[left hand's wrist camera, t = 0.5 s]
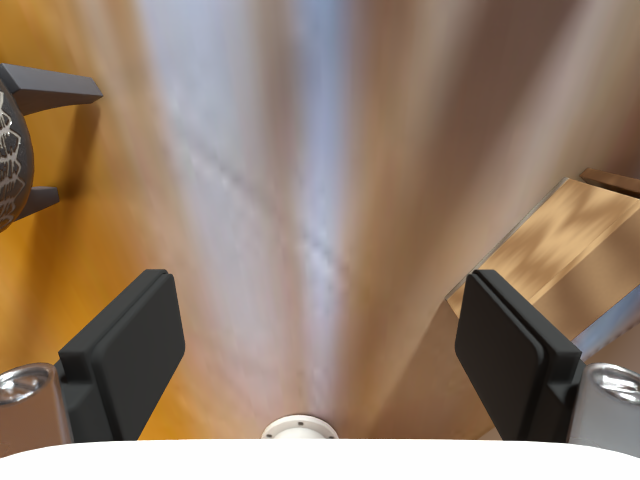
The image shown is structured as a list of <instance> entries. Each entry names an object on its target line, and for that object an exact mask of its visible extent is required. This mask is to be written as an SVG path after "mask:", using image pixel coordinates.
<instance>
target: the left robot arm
mask: <svg viewBox="0 0 640 480" xmlns="http://www.w3.org/2000/svg"><path fill="white" fill-rule="evenodd" d="M184 352H185V340H184V334H183V329H182V323H181V317H180V311H179V305H178V299H177V293H176V288H175V282H174V277H173V275H172V274H168V272H167V271H166V270H164V269H146V270H145V271H143V272H142V273H141V274H140V275H139V276H138V277H137V278H136V279H135V280H134V281H133V282H132V283H131V284H130V285H129V286H128V287H127V288H125V289H124V290H123V291H122V292H121V293H120V294H119V295H118V296H117V297H116V298H115V299H114V300H113V301H112V302H111V303H110V304H109V305H107V306H106V307H105V308H104V309H103V310H102V311H101V312H100V313H99V314H98V315H97V316H96V317H95V318H94V319H93V320H92V321H91V322H89V323H88V324H87V325H86V326H85V327H84V328H83V329H82V330H81V331H80V332H79V333H78V334H77V335H76V336H75V337H74V338H73V339H71V340H70V341H69V342H68V343H67V344H66V345H65V346H64V347H63V348H62V349H61V350H60V351H59V352H58V354H59V357H60V360H59V361H58V362H57V363H56V364H55V365H51V364H49V363H32V364H27V365H23V366H20V367H16V368H14V369H11V370H9V371H7V372H4V373H2V374H0V480H640V375H639V374H638V373H636V372H633V371H631V370H629V369H626V368H624V367H620V366H617V365H613V364H608V363H591V364H589V365H585V364H584V363H583V362H582V361H581V360H580V357H581V354H582V352H581V351H580V350H579V349H578V348H577V347H576V346H575V345H574V344H573V343H572V342H571V341H570V340H569V339H567V338H566V337H565V336H564V335H563V334H562V333H561V332H560V331H559V330H558V329H557V328H556V327H555V326H554V325H553V324H552V323H551V322H549V321H548V320H547V319H546V318H545V317H544V316H543V315H542V314H541V313H540V312H539V311H538V310H537V309H536V308H535V307H534V306H533V305H531V304H530V303H529V302H528V301H527V300H526V299H525V298H524V297H523V296H522V295H521V294H520V293H519V292H518V291H517V290H516V289H515V288H513V287H512V286H511V285H510V284H509V283H508V282H507V281H506V280H505V279H504V278H503V277H502V276H501V275H500V274H499V273H498V272H497V271H495V270H494V269H476V270H474V271H473V272H472V274H468V275H467V277H466V282H465V288H464V293H463V299H462V305H461V311H460V317H459V323H458V328H457V334H456V340H455V352H456V355H457V357H458V359H459V361H460V363H461V364H462V366H463V368H464V370H465V372H466V374H467V375H468V377H469V379H470V381H471V383H472V385H473V387H474V388H475V390H476V392H477V394H478V396H479V398H480V399H481V401H482V403H483V405H484V407H485V409H486V410H487V412H488V414H489V416H490V418H491V420H492V421H493V423H494V425H495V427H496V429H497V430H498V432H499V434H500V436H501V438H502V440H503V441H480V440H402V439H339V437H338V435H337V433H336V432H335V430H334V429H333V428H332V427H331V426H330V425H329V424H328V423H326V422H324V421H322V420H320V419H318V418H315V417H311V416H306V415H293V416H287V417H283V418H281V419H278V420H276V421H275V422H273V423H271V424H270V425H269V426H268V427H267V428H266V429H265V431H264V432H263V434H262V436H261V439H238V440H160V441H137V440H138V438H139V436H140V434H141V432H142V431H143V429H144V427H145V425H146V423H147V421H148V420H149V418H150V416H151V414H152V412H153V410H154V409H155V407H156V405H157V403H158V401H159V399H160V398H161V396H162V394H163V392H164V390H165V388H166V387H167V385H168V383H169V381H170V379H171V377H172V375H173V374H174V372H175V370H176V368H177V366H178V364H179V363H180V361H181V359H182V357H183V355H184Z"/></svg>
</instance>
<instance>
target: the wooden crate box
mask: <svg viewBox="0 0 640 480" xmlns="http://www.w3.org/2000/svg"><path fill="white" fill-rule="evenodd" d="M476 269H494V270H495V271H497V272H498V273H499V274H500V275H501V276H502V277H503V278H504V279H505V280H506V281H507V282H508V283H509V284H510V285H511V286H512V287H513V288H515V289H516V290H517V291H518V292H519V293H520V294H521V295H522V296H523V297H524V298H525V299H526V300H527V301H528V302H529V303H530V304H531V305H533V306H534V307H535V308H536V309H537V310H538V311H539V312H540V313H541V314H542V315H543V316H544V317H545V318H546V319H547V320H548V321H549V322H551V323H552V324H553V325H554V326H555V327H556V328H557V329H558V330H559V331H560V332H561V333H562V334H563V335H564V336H565V337H566V338H567V339H569V340H570V341H572V340H573V339H574V338H575V337H576V336H578V335H579V334H580V333H581V332H583V331H584V330H585V329H586V328H587V327H589V326H590V325H591V324H592V323H593V322H595V321H596V320H597V319H598V318H599V317H601V316H602V315H603V314H604V313H605V312H607V311H608V310H609V309H610V308H612V307H613V306H614V305H615V304H616V303H618V302H619V301H620V300H621V299H622V298H624V297H625V296H626V295H627V294H628V293H630V292H631V291H632V290H633V289H634V288H636V287H637V286H638V285H639V284H640V200H639V199H637V198H633V197H630V196H626V195H623V194H619V193H616V192H613V191H609V190H606V189H602V188H599V187H596V186H592V185H589V184H585V183H582V182H579V181H575V180H572V179H569V178H566V177H564V178H563V179H562V180H561V181H560V182H559V183H558V184H557V185H556V186H555V187H554V188H553V189H552V190H551V191H550V192H549V193H548V194H547V195H546V196H545V197H544V198H543V199H542V200H541V201H540V202H539V203H538V204H537V205H536V206H535V207H534V208H533V209H532V210H531V211H530V212H529V213H528V214H527V215H526V216H525V217H524V218H523V219H522V220H521V221H520V222H519V223H518V224H517V225H516V226H515V227H514V228H513V229H512V230H511V231H510V232H509V233H508V234H507V235H506V236H505V237H504V238H503V239H502V240H501V241H500V242H499V243H498V244H497V245H496V246H495V247H494V248H493V249H492V250H491V251H490V252H489V253H488V254H487V255H486V256H485V257H484V258H483V259H482V260H481V261H480V262H479V263H478V264H477V265H476V266H475V267H474V268H473V269H472V270H471V272H470V273H469V274H472V272H473V271H474V270H476ZM466 277H467V276H466ZM466 277H465V278H464V279H463V280H462V281H461V282H460V283H459V284H458V285H457V286H456V287H455V288H454V289H453V290H452V291H451V292H450V293H449V294H448V295H447V296H446V297H445V299H446V301H447V302H448V303H449V305H450V306H451V308H452V309H453V311H454V313H455V314H456V316H457V317H458V319H459V317H460V311H461V305H462V299H463V293H464V288H465V282H466Z"/></svg>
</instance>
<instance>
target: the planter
mask: <svg viewBox="0 0 640 480" xmlns="http://www.w3.org/2000/svg"><path fill="white" fill-rule="evenodd" d="M101 97H103V94H102V93H101V91H100V90H99V88H98V87H97V85H96V84H95V82H94V81H93V79H92V78H89V77H83V76H77V75H71V74H65V73H59V72H53V71H47V70H41V69H35V68H29V67H23V66H17V65H11V64H5V63H1V64H0V233H1V232H3V231H4V230H6V229H7V228H8V227H9V226H10V225H11V224H12V223H13V222H15V221H17V220H19V219H21V218H24V217H26V216H28V215H31V214H33V213H35V212H37V211H40V210H42V209H44V208H46V207H49V206H51V205H53V204H56V203H58V202H59V196H58V191H57V188H56V187H41V186H39V187H32V185H33V177H34V153H33V148H32V143H31V137H30V134H29V131H28V128H27V125H26V122H25V119H24V116H25V115H28V114H32V113H35V112H39V111H43V110H47V109H51V108H57V107H62V106H68V105H77V104H90V103H93V102H94V101H96V100H98V99H99V98H101Z"/></svg>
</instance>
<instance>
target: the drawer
mask: <svg viewBox="0 0 640 480" xmlns="http://www.w3.org/2000/svg"><path fill="white" fill-rule="evenodd" d="M580 177H581V178H582V179H583V180H584V181H585V182H586V183H587V184H589V185H592V186H596V187H599V188H602V189H606V190H609V191H613V192H616V193H619V194H623V195H626V196H630V197H633V198H637V199H639V200H640V180H638V179H634V178H630V177H625V176H621V175H617V174H612V173H608V172H604V171H599V170H595V169H591V168H587V169H586V170H585V171H584V172H583V173H582V174H581V175H580Z"/></svg>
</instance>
